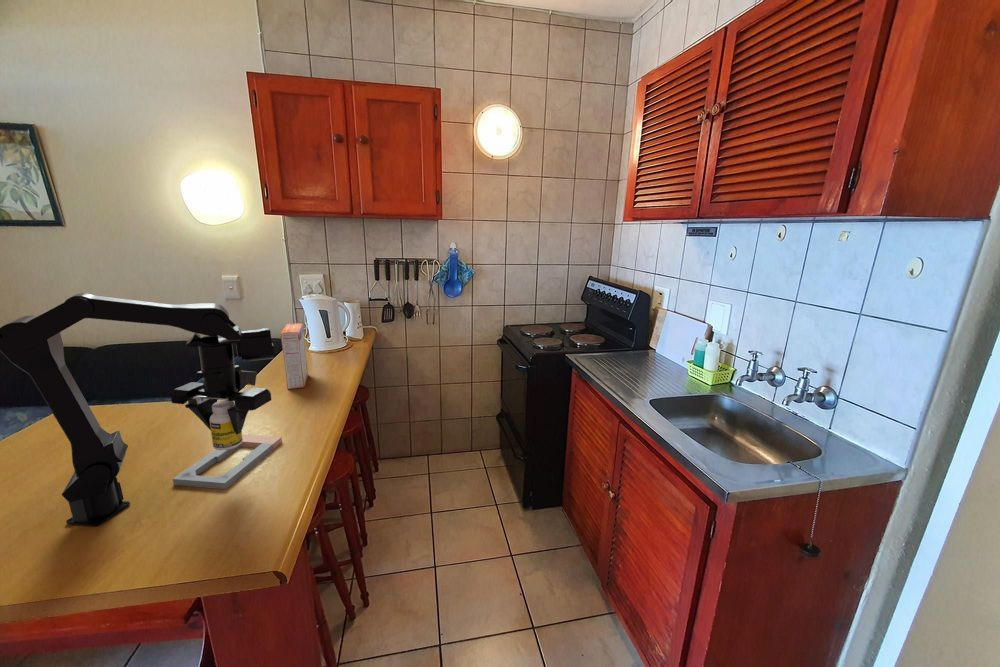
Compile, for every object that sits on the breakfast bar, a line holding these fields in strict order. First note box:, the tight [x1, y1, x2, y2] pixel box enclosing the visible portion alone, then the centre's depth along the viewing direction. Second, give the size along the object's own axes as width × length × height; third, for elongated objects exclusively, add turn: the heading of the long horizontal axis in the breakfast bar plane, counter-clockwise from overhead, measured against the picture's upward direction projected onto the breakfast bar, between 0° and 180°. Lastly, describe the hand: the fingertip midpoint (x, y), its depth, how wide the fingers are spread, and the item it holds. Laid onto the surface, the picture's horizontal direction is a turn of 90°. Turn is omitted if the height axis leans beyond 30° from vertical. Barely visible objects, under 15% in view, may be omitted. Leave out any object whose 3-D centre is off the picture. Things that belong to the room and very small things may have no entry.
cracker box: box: [280, 322, 309, 390], centre depth 143 cm, size 14×6×21 cm, turn 20°
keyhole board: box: [172, 433, 283, 490], centre depth 95 cm, size 20×12×2 cm, turn 176°
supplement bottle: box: [210, 400, 243, 450], centre depth 86 cm, size 5×5×10 cm
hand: (226, 432), depth 86 cm, fingers closed on supplement bottle, 5 cm apart
